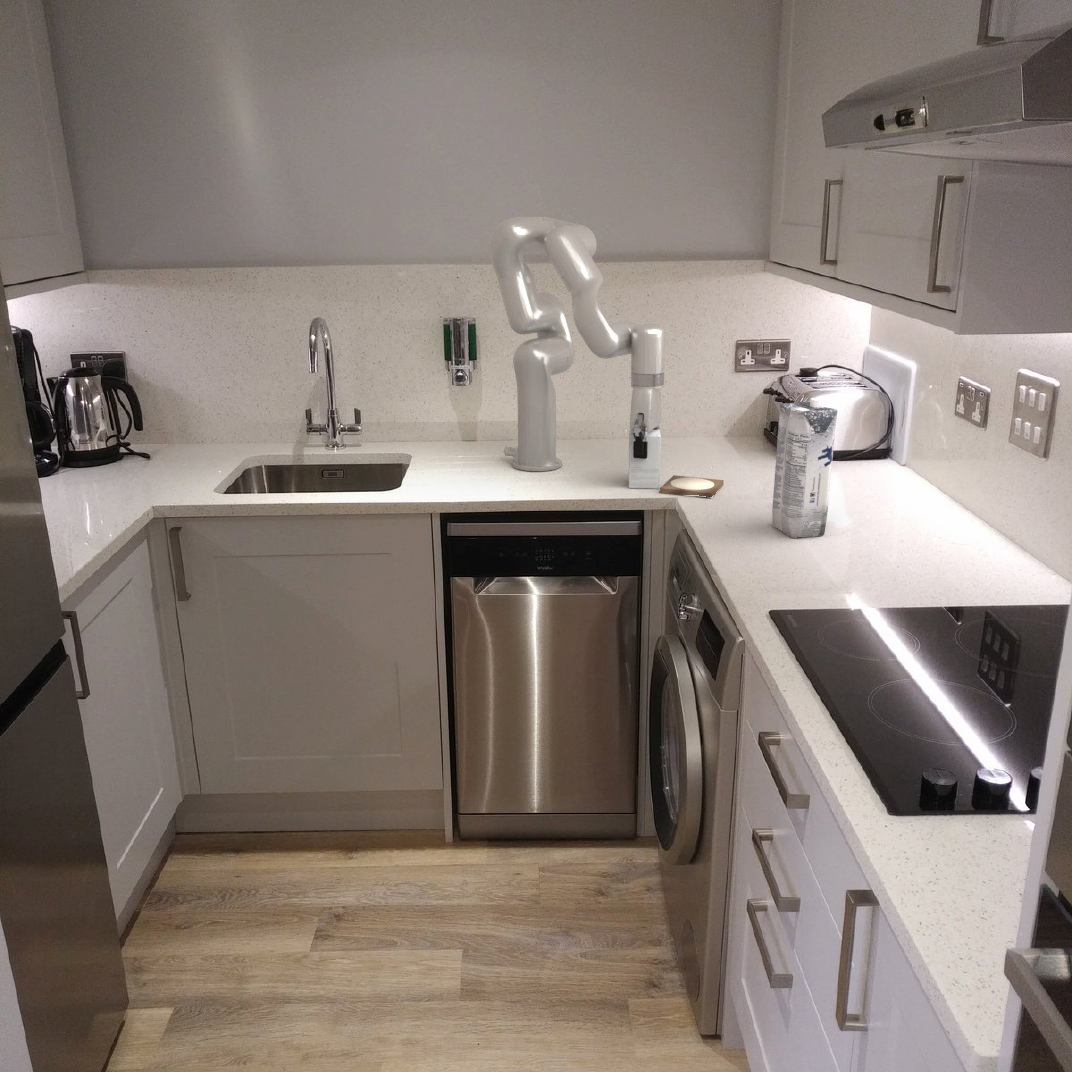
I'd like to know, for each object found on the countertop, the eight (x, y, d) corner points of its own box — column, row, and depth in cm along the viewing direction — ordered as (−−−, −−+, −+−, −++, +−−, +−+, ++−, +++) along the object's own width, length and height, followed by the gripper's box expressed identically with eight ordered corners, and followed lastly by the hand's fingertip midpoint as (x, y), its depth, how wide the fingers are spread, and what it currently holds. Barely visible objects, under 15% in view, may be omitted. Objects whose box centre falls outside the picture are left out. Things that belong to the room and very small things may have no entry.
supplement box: (659, 481, 242) (661, 429, 238) (659, 489, 235) (661, 436, 231) (628, 480, 242) (629, 428, 238) (627, 488, 235) (629, 435, 231)
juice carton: (791, 541, 199) (802, 405, 191) (765, 525, 209) (775, 395, 200) (831, 537, 202) (844, 402, 193) (804, 521, 211) (815, 393, 203)
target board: (659, 493, 232) (660, 487, 231) (673, 480, 242) (673, 474, 242) (711, 498, 227) (712, 492, 227) (723, 485, 238) (723, 479, 238)
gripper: (642, 373, 240) (641, 444, 245) (620, 385, 224) (619, 460, 230) (673, 375, 237) (671, 446, 242) (652, 387, 222) (651, 463, 227)
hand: (646, 453), depth 236 cm, fingers open, 9 cm apart
